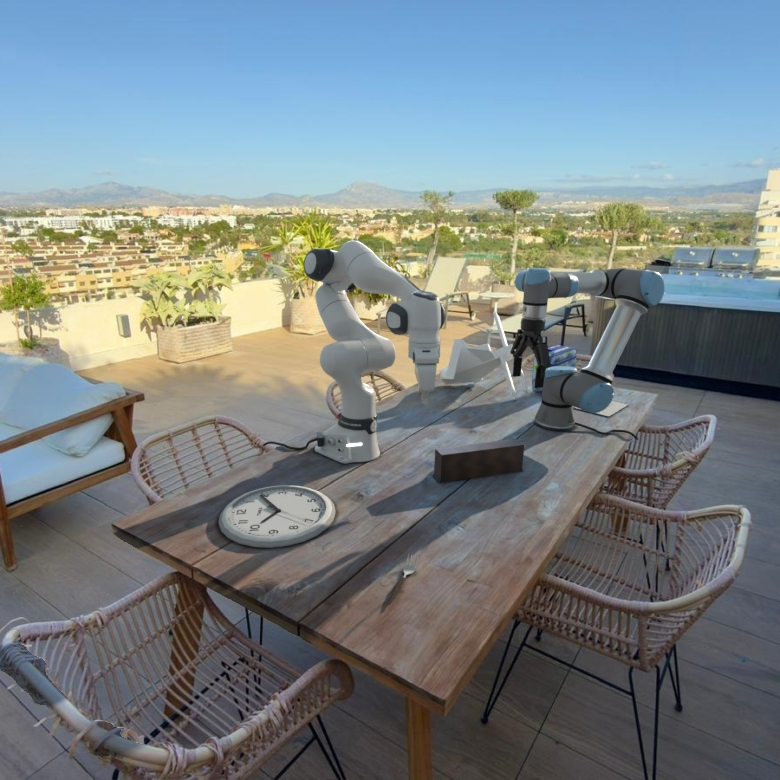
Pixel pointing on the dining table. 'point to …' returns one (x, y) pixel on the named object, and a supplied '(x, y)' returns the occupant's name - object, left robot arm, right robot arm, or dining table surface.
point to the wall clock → (277, 516)
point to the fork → (407, 571)
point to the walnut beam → (478, 460)
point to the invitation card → (611, 408)
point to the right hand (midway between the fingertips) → (527, 381)
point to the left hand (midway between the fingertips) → (423, 398)
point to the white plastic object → (480, 362)
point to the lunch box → (556, 360)
